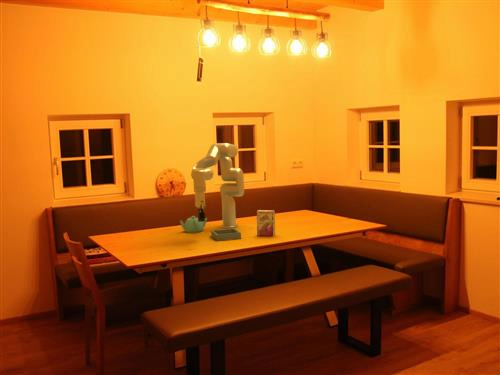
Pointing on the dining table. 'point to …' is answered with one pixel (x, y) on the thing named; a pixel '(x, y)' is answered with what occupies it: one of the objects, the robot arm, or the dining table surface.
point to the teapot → (193, 225)
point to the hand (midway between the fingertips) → (201, 217)
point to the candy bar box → (265, 223)
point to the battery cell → (199, 216)
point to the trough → (225, 234)
